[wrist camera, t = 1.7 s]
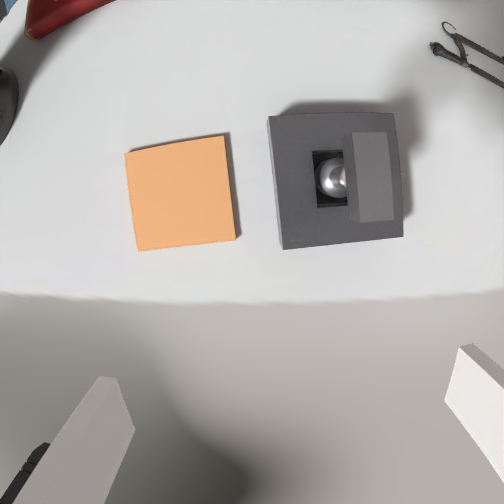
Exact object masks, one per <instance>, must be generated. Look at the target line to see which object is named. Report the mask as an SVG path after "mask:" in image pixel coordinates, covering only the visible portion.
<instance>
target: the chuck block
mask: <svg viewBox="0 0 504 504" xmlns="http://www.w3.org/2000/svg"><path fill="white" fill-rule="evenodd" d="M267 130H268V139H269V147H270V156H271V164H272V173H273V182H274V192H275V201H276V211H277V221H278V231H279V241H280V245H281V247H282V249H283V250H287V249H296V248H305V247H315V246H324V245H333V244H342V243H351V242H360V241H369V240H378V239H387V238H397V237H403V206H402V189H401V175H400V164H399V154H398V145H397V137H396V130H395V122H394V116H393V113H314V114H294V115H280V116H268V120H267ZM352 132H387V140H388V148H389V157H390V167H391V179H392V192H393V210H394V220H386V221H375V222H364V223H359V222H357V221H354V220H352V219H349V217H348V202H344V203H332V204H320V205H317V198H316V188H315V177H314V168H313V159H312V154H316V153H333V152H343V150H342V142H341V137H343V136H345V135H347V134H350V133H352Z"/></svg>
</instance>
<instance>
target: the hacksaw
mask: <svg viewBox="0 0 504 504" xmlns="http://www.w3.org/2000/svg"><path fill="white" fill-rule="evenodd" d="M444 23H448V22H442V28H443V30H444V31H445V32H446V33H447V34H448V35H449V36H451V37H452V38H453V39H454V41H455V43H456V44H457V46H458V47H459V50H460V54H461V58H460V57H458V56H457V55H455V54H453V53H451V52H450V51H447V50H446V49H445V48H444V47H443V46H442V45H441V44H439V43H437V42H434V43H433V44H432V43H430V44H431V45H430V46H431V47H430V48H431V49H432V50H433V54H434V55H436V56H438V55H439V56H442V57H444V58H447V59H449V60H451V61H454V62H456V63H458V64H460V65H462V66H464V67H466V68H467V67H469V68H471V70H472V71H474V72H476V73H477V74H479V75H481V76H483V77H485V78H487V79H488V80H490V81H492V82H494V83H496V84H497V85H499V86H500V87H502V88H504V82H502V81H500V80H499V79H497V78H495V77H494V76H492V75H490V74H488V73H487V72H485V71H483V70H481V69H479V68H478V67H476V66H474V65H472V64H470V65H469V64H468V62H467V58H466V56H467V55H468V54H467V55H466V54H465V50H464V48H463V45H462V44H461V43H464V44H466V45H467V46H469V47H472V48H473V49H475V50H477V51H479V52H481V53H483V54H485V55H487V56H489V57H490V58H492V59H494V60H496V61H498V62H500V63H502V64H504V57H502V58H503V59H502V58H500V57H499V56H496V55H495V54H493V53H491V52H489V51H488V50H486V49H485V48H482V47H481V46H479V45H478V44H476V43H474V42H472V41H470V40H468V39H467V38H465V37H463V36H461V35H459V34H457V33H455V34H452V33H451V34H450V33H448V32H447V31H446V30H445V28H444V26H443V24H444ZM448 24H450V23H448ZM450 25H451V24H450ZM451 26H452V25H451ZM452 27H453V26H452ZM453 28H454V27H453ZM454 29H455V28H454ZM455 30H456V29H455Z"/></svg>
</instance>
